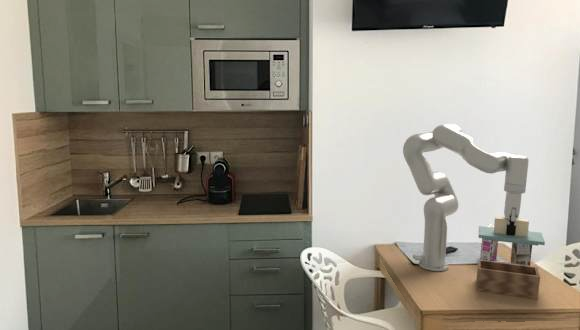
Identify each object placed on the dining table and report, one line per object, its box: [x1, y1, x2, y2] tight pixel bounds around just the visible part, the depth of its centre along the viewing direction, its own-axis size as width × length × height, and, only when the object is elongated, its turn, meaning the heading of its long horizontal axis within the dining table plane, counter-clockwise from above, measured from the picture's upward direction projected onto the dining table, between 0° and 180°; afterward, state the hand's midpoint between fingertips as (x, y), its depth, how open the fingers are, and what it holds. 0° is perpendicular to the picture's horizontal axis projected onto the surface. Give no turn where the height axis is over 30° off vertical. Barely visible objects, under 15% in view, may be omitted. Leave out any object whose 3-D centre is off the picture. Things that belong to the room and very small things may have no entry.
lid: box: [478, 216, 546, 246], centre depth 195 cm, size 23×12×8 cm, turn 69°
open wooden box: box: [475, 258, 541, 300], centre depth 199 cm, size 22×11×9 cm, turn 69°
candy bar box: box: [479, 223, 499, 261], centre depth 228 cm, size 11×5×16 cm, turn 144°
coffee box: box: [510, 243, 533, 266], centre depth 222 cm, size 9×6×16 cm
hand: (510, 233), depth 196 cm, fingers closed on lid, 3 cm apart
